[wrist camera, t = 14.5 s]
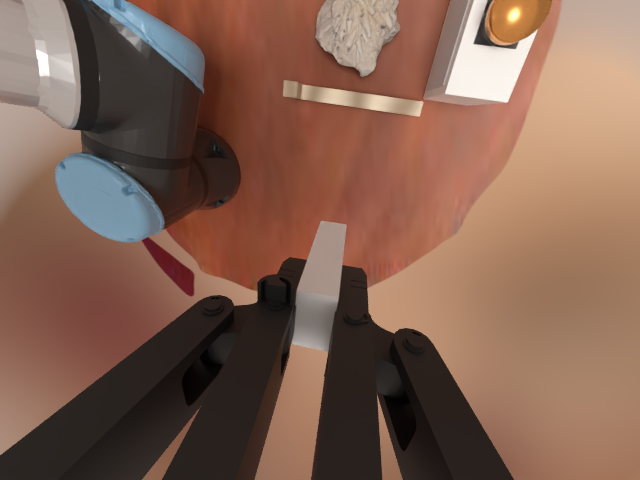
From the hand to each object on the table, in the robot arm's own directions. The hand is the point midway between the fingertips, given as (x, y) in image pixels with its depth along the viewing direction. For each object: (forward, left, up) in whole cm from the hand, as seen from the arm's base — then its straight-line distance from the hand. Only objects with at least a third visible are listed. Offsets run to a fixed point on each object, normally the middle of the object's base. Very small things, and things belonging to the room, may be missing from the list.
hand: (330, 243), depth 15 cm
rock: (-3, +18, -35) cm, 39 cm away
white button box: (+13, +17, -34) cm, 40 cm away
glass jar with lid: (+13, +17, -27) cm, 35 cm away
